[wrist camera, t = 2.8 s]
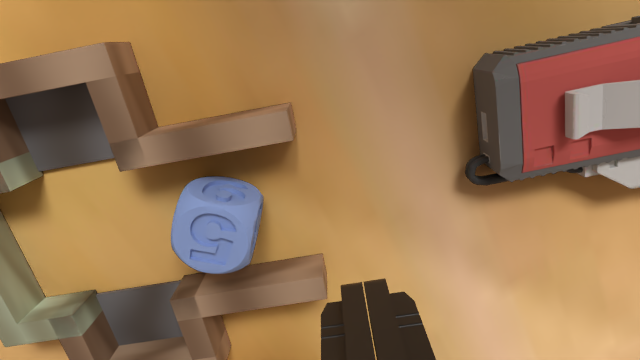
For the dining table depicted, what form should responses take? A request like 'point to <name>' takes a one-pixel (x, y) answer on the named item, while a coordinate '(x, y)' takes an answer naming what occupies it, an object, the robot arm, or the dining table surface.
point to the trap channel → (130, 153)
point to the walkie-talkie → (561, 107)
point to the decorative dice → (217, 224)
